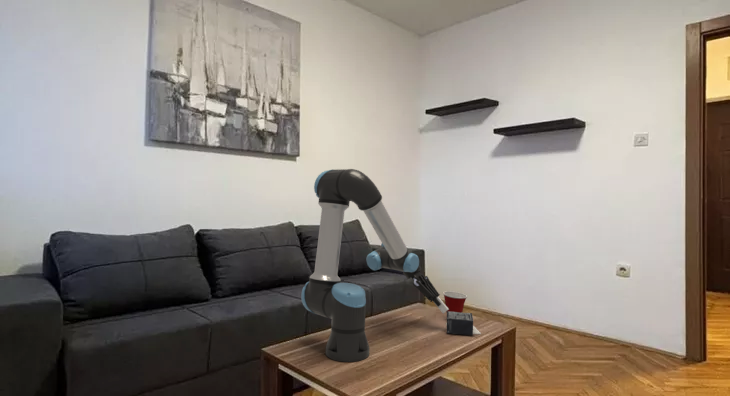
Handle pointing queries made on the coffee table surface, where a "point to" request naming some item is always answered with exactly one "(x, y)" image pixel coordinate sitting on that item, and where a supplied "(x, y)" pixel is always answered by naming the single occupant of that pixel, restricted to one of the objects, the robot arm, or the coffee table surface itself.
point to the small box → (459, 323)
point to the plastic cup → (454, 301)
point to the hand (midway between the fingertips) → (446, 311)
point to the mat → (473, 330)
